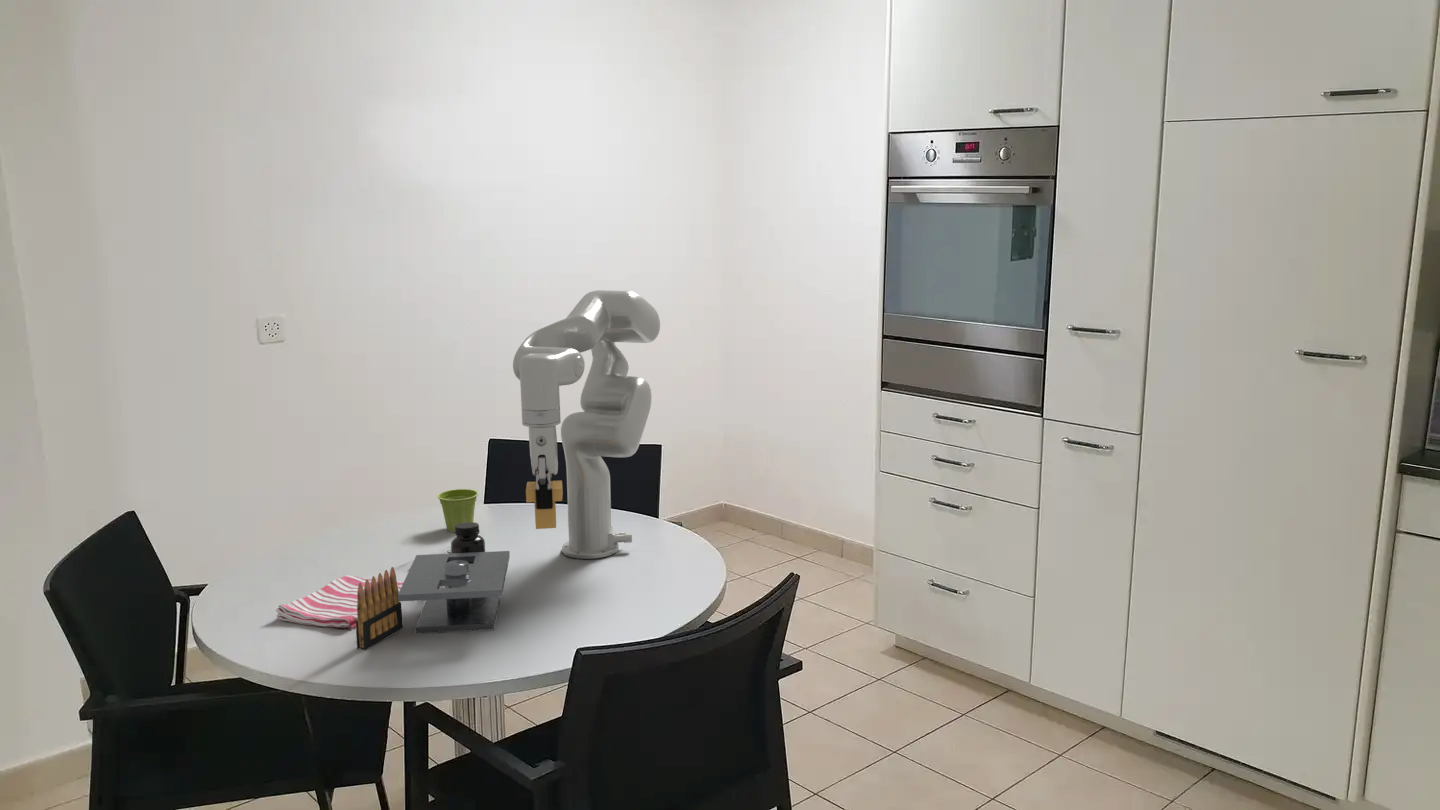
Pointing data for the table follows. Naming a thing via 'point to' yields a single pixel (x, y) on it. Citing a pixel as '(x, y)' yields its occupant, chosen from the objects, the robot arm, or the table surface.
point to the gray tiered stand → (456, 590)
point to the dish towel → (328, 604)
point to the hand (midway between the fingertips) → (545, 502)
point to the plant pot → (458, 506)
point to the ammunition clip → (378, 610)
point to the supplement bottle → (467, 539)
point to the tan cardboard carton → (545, 516)
